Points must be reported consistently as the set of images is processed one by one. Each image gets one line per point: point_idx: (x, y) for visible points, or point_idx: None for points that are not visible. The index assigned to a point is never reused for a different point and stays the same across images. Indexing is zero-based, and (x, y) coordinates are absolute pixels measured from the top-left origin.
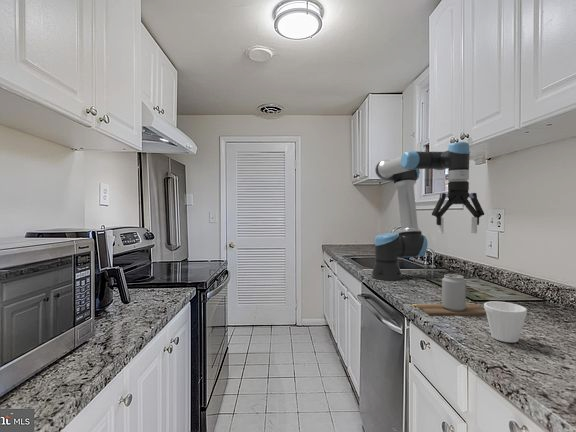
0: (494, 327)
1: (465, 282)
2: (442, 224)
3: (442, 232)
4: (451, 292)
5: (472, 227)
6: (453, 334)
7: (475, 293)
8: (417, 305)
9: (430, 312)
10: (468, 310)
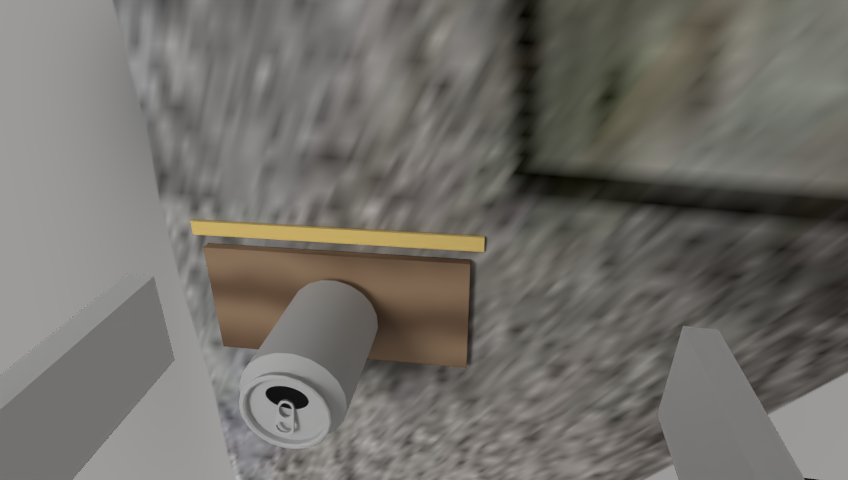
0: None
1: (336, 427)
2: (64, 466)
3: (154, 369)
4: (284, 390)
5: (708, 423)
6: (249, 466)
7: (651, 28)
8: (206, 252)
9: (231, 339)
10: (384, 338)
